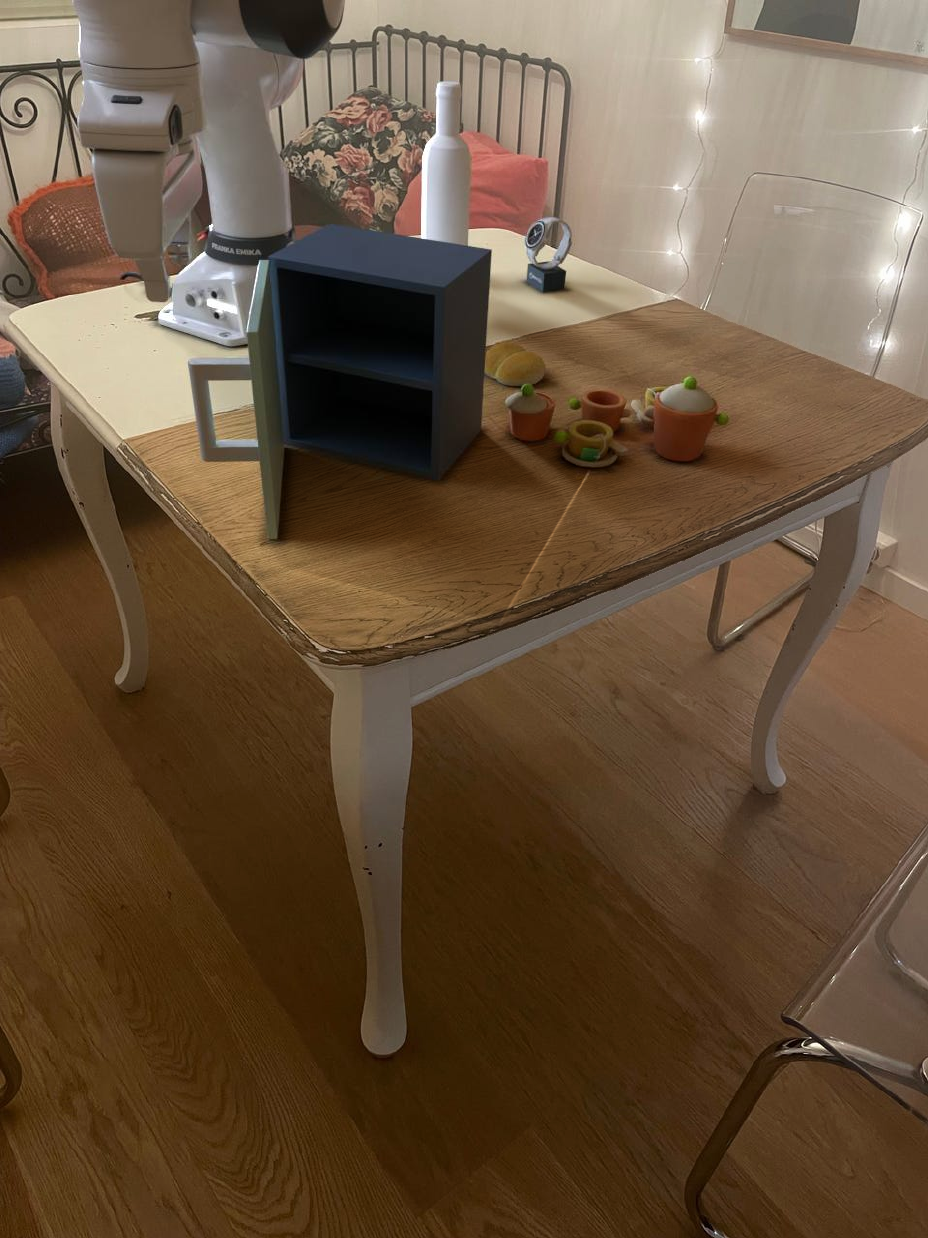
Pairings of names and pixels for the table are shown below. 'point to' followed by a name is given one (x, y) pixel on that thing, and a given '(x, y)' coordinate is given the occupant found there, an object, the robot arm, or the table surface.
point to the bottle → (446, 173)
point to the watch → (549, 272)
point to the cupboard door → (265, 398)
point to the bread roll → (513, 365)
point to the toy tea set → (670, 410)
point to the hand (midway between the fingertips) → (171, 280)
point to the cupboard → (381, 346)
